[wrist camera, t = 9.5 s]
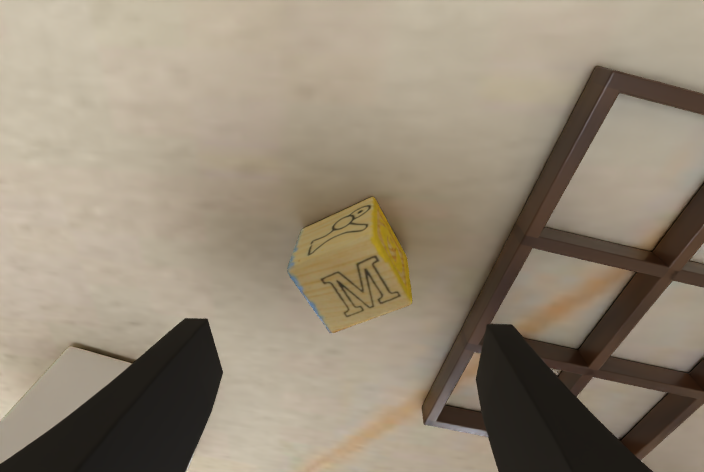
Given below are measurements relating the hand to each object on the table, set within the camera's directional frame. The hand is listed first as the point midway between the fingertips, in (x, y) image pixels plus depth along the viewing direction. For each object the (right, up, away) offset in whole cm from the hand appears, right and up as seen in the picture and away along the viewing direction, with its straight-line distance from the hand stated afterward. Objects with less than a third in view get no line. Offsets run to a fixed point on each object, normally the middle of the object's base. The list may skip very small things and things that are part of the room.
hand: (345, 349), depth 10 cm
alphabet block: (0, +3, +5) cm, 6 cm away
